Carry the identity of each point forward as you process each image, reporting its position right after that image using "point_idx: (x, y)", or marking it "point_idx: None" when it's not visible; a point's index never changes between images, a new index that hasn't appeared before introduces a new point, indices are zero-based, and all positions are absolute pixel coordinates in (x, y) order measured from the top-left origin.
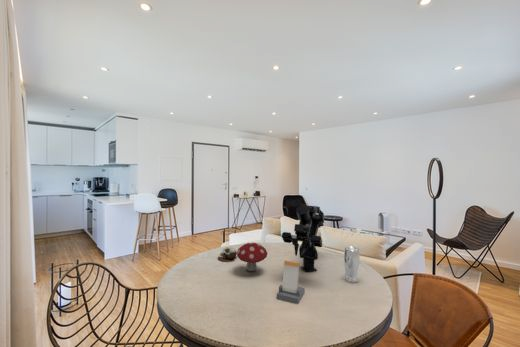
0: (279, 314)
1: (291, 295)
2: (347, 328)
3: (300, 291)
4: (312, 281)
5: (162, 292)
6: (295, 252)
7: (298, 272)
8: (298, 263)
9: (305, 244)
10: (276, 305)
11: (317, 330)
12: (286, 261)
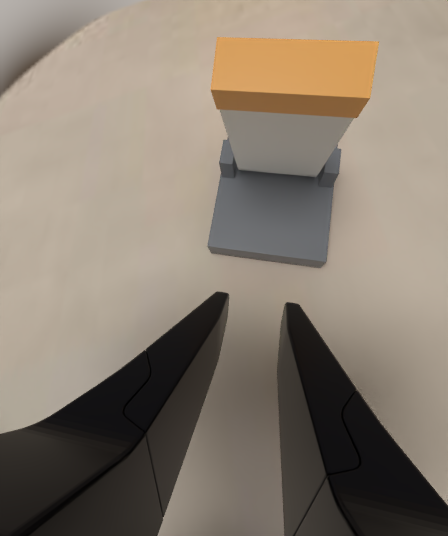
0: None
1: None
2: (67, 74)
3: (220, 167)
4: None
5: None
6: (302, 321)
7: (225, 122)
8: (216, 52)
9: (56, 420)
10: None
11: (155, 36)
12: (351, 45)
